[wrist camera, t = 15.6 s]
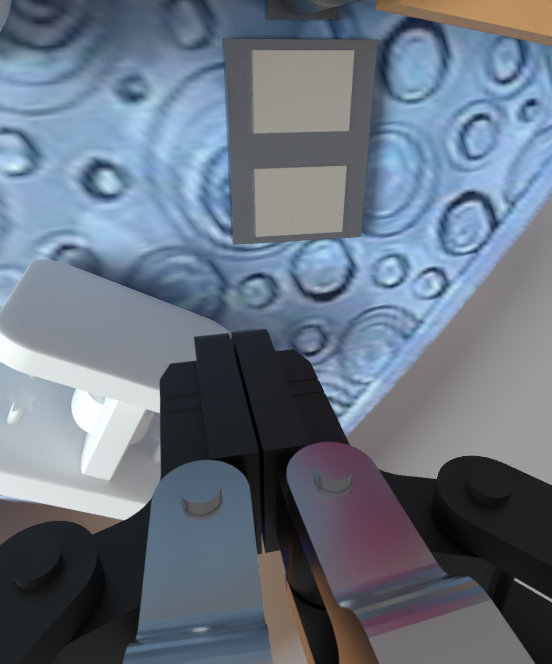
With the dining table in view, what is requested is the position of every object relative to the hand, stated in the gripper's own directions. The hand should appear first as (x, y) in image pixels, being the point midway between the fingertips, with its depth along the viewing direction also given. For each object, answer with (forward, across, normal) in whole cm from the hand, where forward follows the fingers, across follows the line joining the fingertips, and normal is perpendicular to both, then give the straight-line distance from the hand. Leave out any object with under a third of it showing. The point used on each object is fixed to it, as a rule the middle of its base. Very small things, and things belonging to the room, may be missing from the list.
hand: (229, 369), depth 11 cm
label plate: (+25, -8, 0) cm, 26 cm away
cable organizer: (+25, +6, +14) cm, 29 cm away
